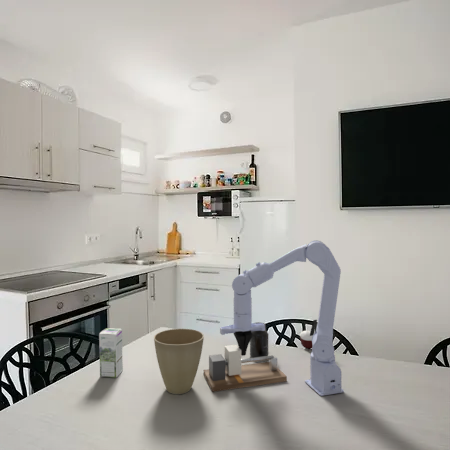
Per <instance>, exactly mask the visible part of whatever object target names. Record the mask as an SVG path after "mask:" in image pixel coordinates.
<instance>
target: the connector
mask: <svg viewBox="0 0 450 450" xmlns="http://www.w3.org/2000/svg"><path fill="white" fill-rule="evenodd" d="M208 369H209V375H210V377H211V379H212V380H213V381H218V380H225V357H224V356H223V354H222V353H221V354H220V353H219V354H212V355H208Z"/></svg>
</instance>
